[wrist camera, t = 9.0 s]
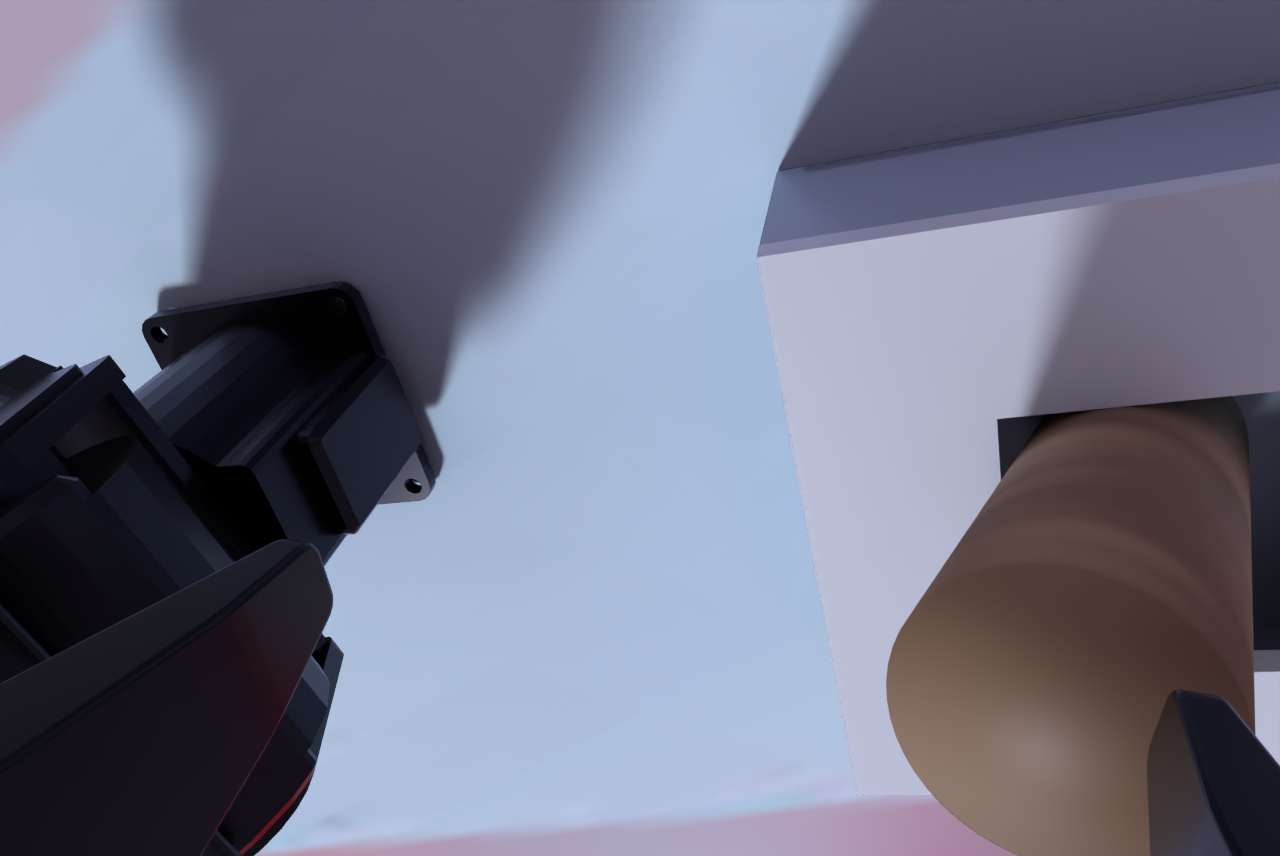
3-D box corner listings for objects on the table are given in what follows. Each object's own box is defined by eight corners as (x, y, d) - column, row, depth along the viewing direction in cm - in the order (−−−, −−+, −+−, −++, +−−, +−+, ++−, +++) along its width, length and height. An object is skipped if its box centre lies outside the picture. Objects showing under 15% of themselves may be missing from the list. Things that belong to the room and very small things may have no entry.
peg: (1012, 474, 23) (838, 741, 13) (1098, 323, 21) (971, 499, 11) (1183, 562, 21) (1133, 937, 11) (1291, 408, 20) (1340, 696, 10)
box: (857, 648, 28) (856, 794, 23) (776, 171, 21) (756, 256, 17) (1437, 626, 24) (1561, 798, 19) (1569, 30, 17) (1800, 96, 13)
